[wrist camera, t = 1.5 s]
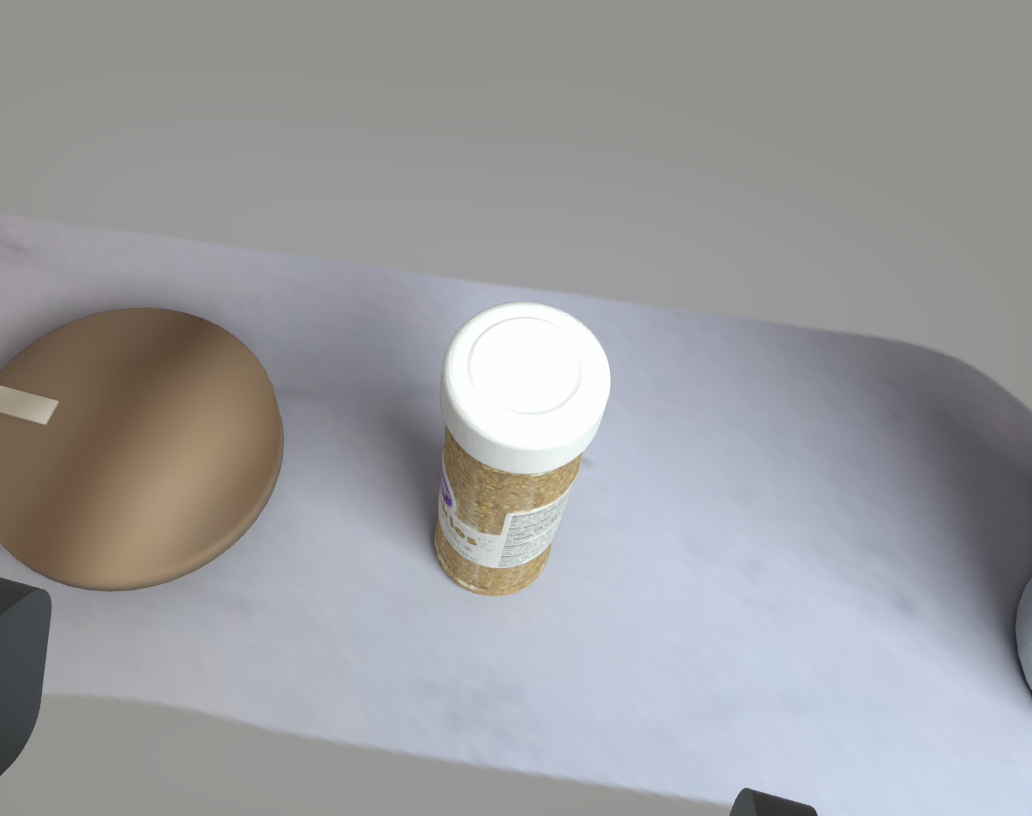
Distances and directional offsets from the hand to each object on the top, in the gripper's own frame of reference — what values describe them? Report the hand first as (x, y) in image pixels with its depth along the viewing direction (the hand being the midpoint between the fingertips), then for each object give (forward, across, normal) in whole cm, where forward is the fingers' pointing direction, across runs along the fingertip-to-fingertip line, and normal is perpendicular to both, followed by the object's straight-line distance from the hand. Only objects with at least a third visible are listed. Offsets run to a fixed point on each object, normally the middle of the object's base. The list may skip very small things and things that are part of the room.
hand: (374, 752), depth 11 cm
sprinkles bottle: (+25, 0, +9) cm, 26 cm away
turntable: (+24, +14, +8) cm, 29 cm away
